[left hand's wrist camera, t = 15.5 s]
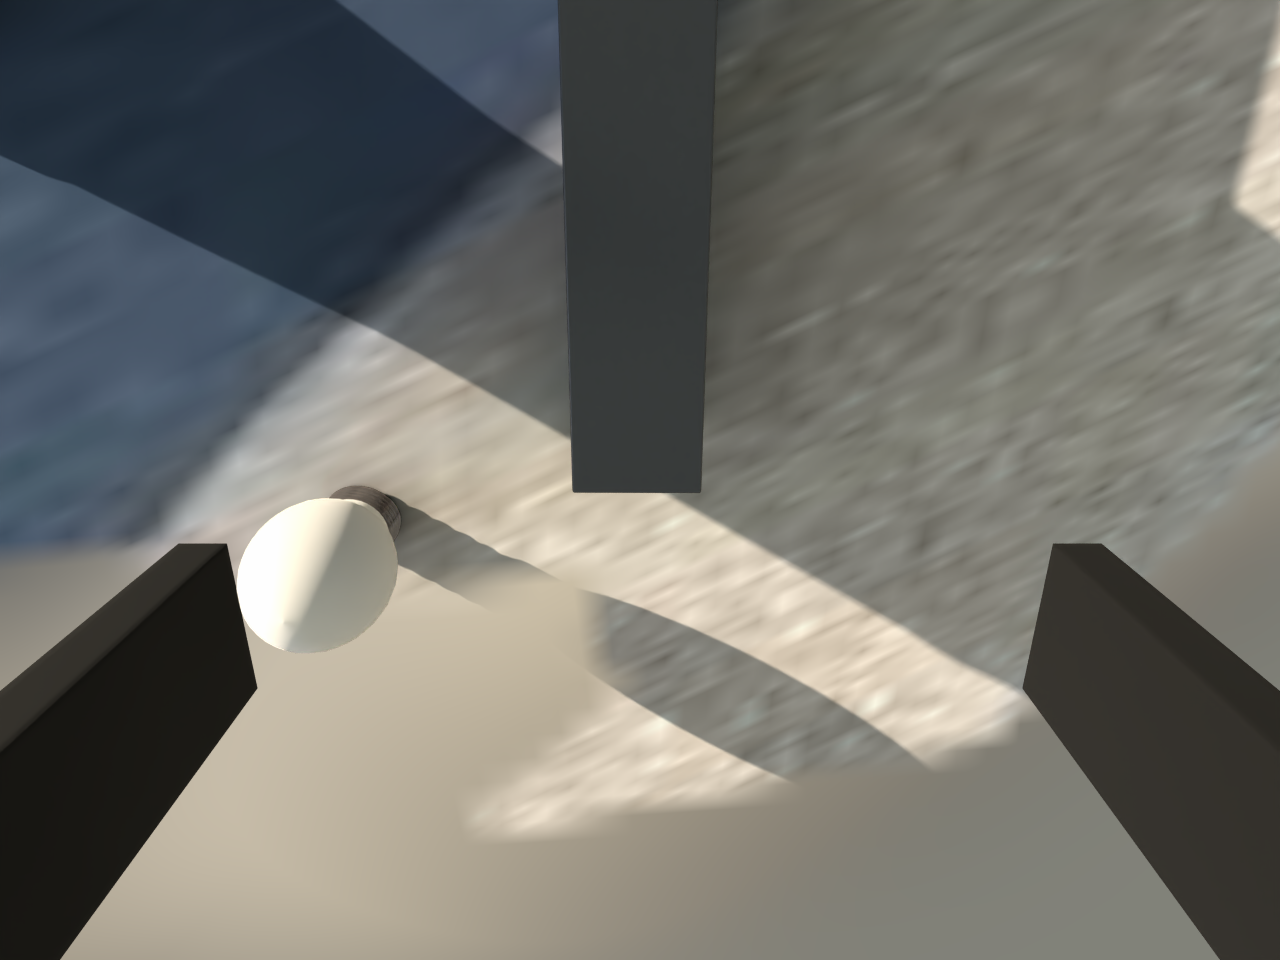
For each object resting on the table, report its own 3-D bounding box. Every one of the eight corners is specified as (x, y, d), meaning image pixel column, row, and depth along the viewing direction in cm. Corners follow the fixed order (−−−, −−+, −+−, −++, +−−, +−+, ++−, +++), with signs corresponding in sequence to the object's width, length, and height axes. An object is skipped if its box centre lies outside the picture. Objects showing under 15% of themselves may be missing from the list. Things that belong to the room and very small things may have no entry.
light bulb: (294, 548, 45) (190, 663, 34) (317, 440, 42) (213, 529, 32) (412, 584, 45) (346, 706, 35) (441, 480, 43) (379, 578, 33)
